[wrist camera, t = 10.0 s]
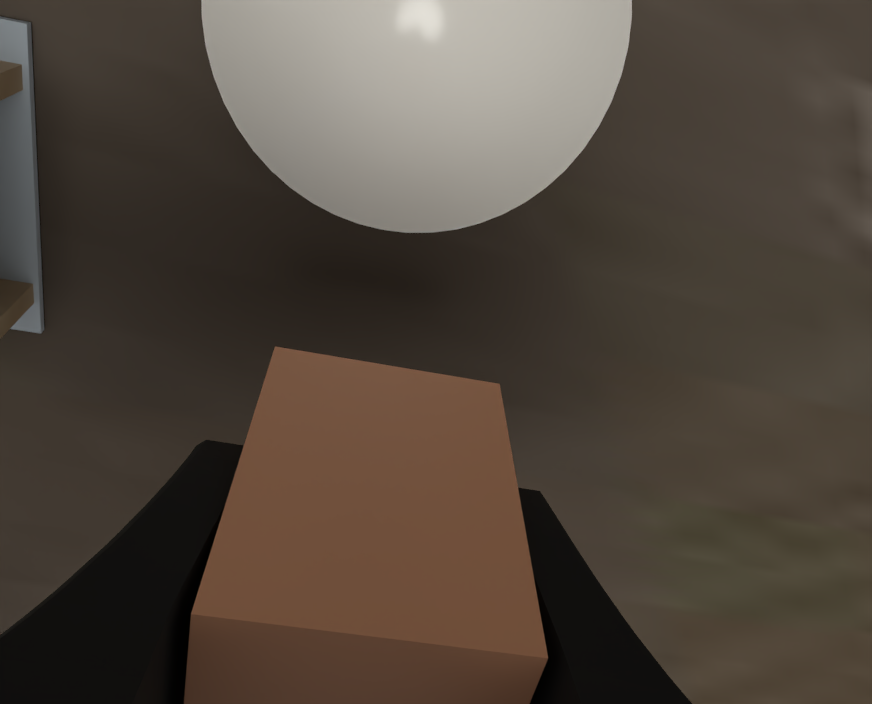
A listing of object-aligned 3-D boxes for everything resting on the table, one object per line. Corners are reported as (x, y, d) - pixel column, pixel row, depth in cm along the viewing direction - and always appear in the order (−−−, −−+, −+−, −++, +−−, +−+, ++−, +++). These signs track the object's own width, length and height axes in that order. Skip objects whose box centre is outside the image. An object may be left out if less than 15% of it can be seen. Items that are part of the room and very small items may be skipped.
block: (451, 548, 14) (469, 850, 9) (253, 520, 13) (175, 822, 9) (499, 384, 12) (547, 659, 8) (274, 346, 12) (190, 614, 7)
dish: (554, 242, 18) (563, 262, 17) (203, 177, 17) (189, 195, 16) (674, -162, 14) (695, -167, 13) (231, -276, 13) (216, -291, 12)
